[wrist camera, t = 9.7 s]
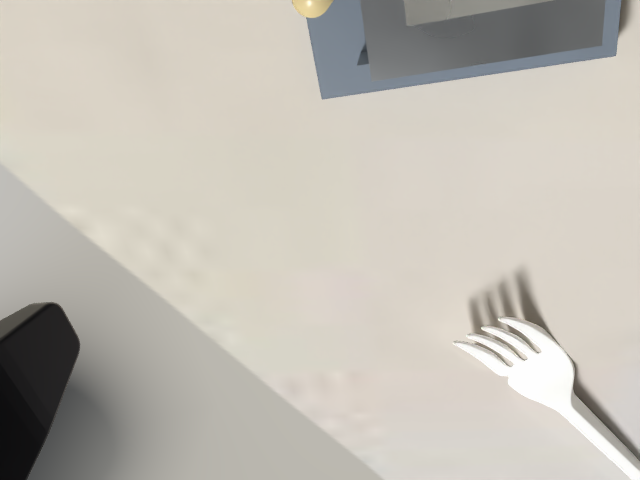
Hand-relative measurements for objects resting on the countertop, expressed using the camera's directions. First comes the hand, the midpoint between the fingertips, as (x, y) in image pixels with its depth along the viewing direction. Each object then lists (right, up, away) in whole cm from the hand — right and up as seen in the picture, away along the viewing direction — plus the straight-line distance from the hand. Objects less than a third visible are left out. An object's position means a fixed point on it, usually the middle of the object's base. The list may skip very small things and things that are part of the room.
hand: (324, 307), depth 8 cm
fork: (+13, -8, +18) cm, 24 cm away
